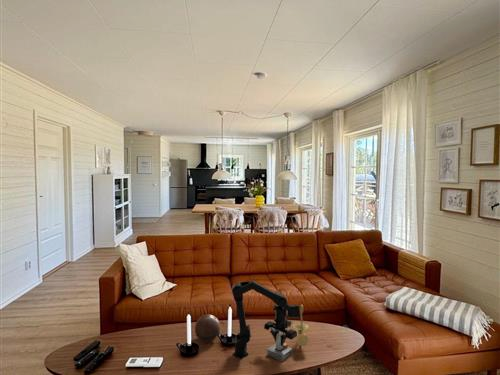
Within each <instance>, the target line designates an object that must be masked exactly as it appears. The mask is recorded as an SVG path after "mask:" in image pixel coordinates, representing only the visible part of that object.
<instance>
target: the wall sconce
mask: <svg viewBox="0 0 500 375" xmlns="http://www.w3.org/2000/svg"><path fill="white" fill-rule="evenodd" d="M299 312H300V322H294V323H293V324H292V329H293V328H294V330H298V332H297V336H296V342H297V344H298V345H299V347H304V346H306V345H308V343H309V336H307V334H305V333H304V331H307V330H308V329H309V325H308V324H307V323H304V322H303V313H304V305H303V304H300V305H299Z"/></svg>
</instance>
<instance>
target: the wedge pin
mask: <svg viewBox="0 0 500 375" xmlns="http://www.w3.org/2000/svg"><path fill="white" fill-rule="evenodd" d="M281 335H283V333H282V332H279V333H278V334H276V342H275V344H276V349H278V350H280V351H281V350H282V349H283V346H281V337H280V336H281ZM280 351H279V352H280Z"/></svg>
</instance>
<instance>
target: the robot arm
mask: <svg viewBox="0 0 500 375" xmlns="http://www.w3.org/2000/svg"><path fill="white" fill-rule="evenodd" d="M251 290H253V291H255V292H257V293H259V294H261V295H262V296H264V297H266V298H268V299H270V300H271V301H272V302H273V303H274V305H273V306H272V310H273V311H275V318H274V319H273V321H271V320H269V321H267V322H266V323H264V325H263V330H266V331H269V330H270V331H269V333H271V335H272V338H273V339H274V342H275V343H276V334H278V333H282V334H283V335H281V336H280V337H281V346H283V345H284V343H286V342H285V341H286V339H289V340H294V339H295V338H297V337H298V332H297V331H296V329H293V328H292V329H291V326H292V321H291V320H289V319H288V318H290V319H291V318H292V319H294V318H295V319H297V318H298V319H299V318H301V315H300V305H299V304H289V302H288V300H287V298H286V297H287V296H286V295H285V294H284V293H282V292H279V291H274V290H272V289H269V288H268V287H266V286H264V285H262V284H260V283H258V282H256V281H255V280H254V279H250V280H248V281H241V282H239V281H238V282H236V281H235V283H233V285H232V290H231V291H232V295H233V298H234V301H235V304H236V310H237V316H238V323H239V329H238V330H239V332H238V333H237V334H236V335H235V344H234V352H233V353H232V355H233V356H234V357H235V358H237V359H241V360H242V359H243V358H245V357H246V356H248V355H249V352H247V350H248V348H247V346H248V343H249V342H250V340H251V337H252V335H251V328H250V327H251V326H250V324H247V322H246V314H245V308H244V300H243V298H244V297H243V296H244V294H246V293H248V292H249V291H251ZM287 316H288V318H287ZM288 328H290V329H288Z"/></svg>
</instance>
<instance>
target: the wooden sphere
mask: <svg viewBox="0 0 500 375" xmlns="http://www.w3.org/2000/svg"><path fill="white" fill-rule="evenodd" d="M220 330H221V324H220V321H219V319H218V318H217V317H216V316H214V315H212V314H203V315H202V316H200V317H199V318H198V319H197V320H196V322H195V325H194V333H195V336H196V337H197V339H198V340H200V341H202V342H203V343H204V342H206V343H208V342H212V341H215V339H216V338H217V337H218V336H219V334H220V332H221V331H220Z"/></svg>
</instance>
